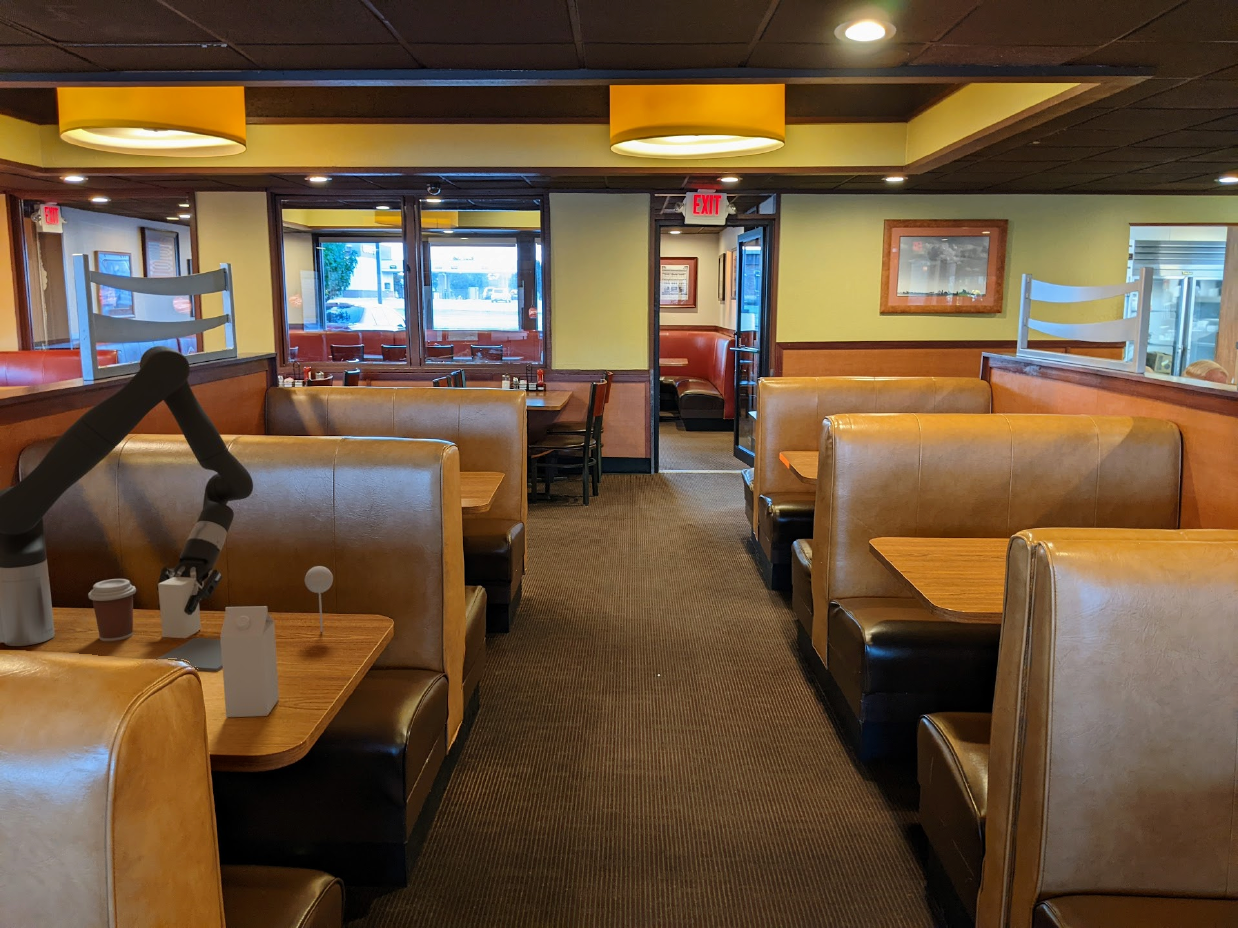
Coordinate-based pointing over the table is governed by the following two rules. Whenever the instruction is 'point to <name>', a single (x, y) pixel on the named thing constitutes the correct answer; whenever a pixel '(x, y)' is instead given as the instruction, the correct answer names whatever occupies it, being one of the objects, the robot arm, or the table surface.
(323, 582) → the lollipop
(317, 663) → the table surface
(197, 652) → the mat
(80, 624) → the table surface
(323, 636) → the table surface
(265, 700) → the milk carton
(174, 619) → the block
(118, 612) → the coffee cup
